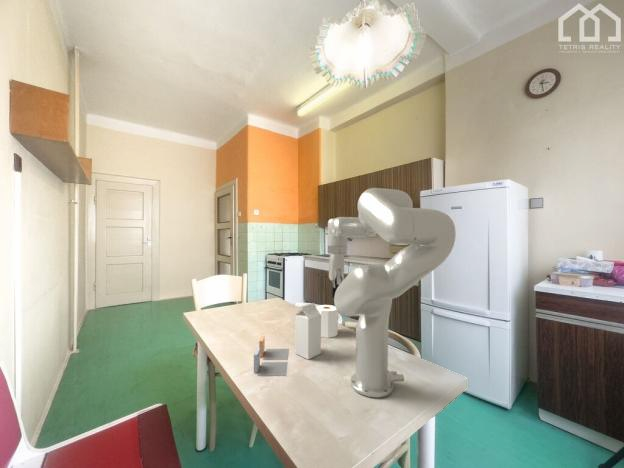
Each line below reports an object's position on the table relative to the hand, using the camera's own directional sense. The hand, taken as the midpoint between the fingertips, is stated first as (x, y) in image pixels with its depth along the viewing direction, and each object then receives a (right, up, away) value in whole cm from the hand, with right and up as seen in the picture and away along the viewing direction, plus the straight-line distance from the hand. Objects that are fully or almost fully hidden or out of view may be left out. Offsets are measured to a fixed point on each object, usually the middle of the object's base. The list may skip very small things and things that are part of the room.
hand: (336, 297), depth 101 cm
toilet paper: (-3, -22, +20) cm, 30 cm away
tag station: (-23, -21, -7) cm, 32 cm away
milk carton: (-11, -22, -1) cm, 24 cm away
